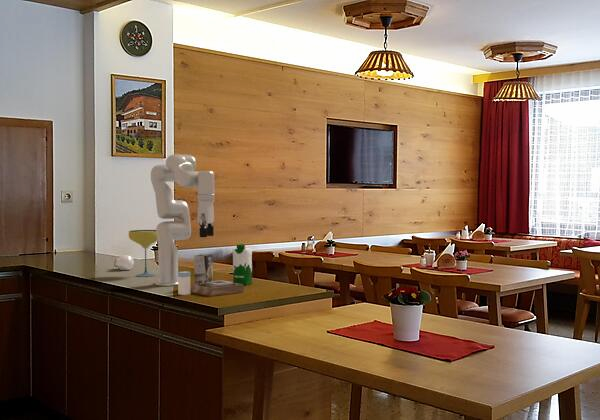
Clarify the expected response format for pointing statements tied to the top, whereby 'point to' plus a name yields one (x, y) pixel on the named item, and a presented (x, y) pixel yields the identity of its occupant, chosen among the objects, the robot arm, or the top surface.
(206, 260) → the coffee box
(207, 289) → the walled box
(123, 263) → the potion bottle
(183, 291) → the plug
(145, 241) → the cocktail glass
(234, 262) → the milk carton
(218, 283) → the block
